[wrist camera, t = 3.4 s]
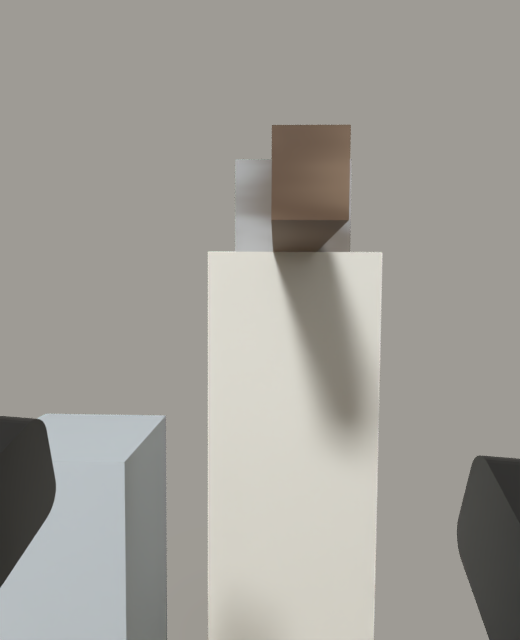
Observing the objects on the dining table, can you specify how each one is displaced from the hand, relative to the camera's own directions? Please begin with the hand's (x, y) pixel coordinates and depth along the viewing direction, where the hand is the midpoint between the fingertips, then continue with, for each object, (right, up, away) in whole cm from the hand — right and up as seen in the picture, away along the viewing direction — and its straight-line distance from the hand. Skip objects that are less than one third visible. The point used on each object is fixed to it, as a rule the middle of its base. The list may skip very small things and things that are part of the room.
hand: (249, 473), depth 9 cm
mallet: (+2, +6, +12) cm, 14 cm away
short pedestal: (-10, -26, +19) cm, 34 cm away
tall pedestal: (+2, -26, +19) cm, 32 cm away
